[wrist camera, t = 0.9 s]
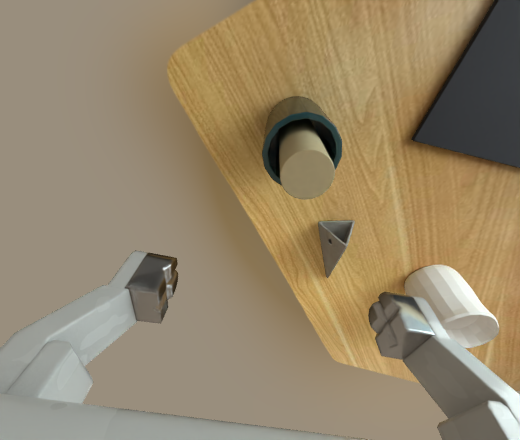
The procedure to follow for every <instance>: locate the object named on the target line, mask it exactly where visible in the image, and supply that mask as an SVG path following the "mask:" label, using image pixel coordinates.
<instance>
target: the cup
mask: <svg viewBox="0 0 520 440" xmlns="http://www.w3.org/2000/svg"><path fill="white" fill-rule="evenodd" d="M404 288H405V292H406V295H409V296H416V297H422V298H424V299H425V300H426V301H427V302H428V304H429V305H430V307H431V309H432V310H433V312H434V313H435V315H436V317H437V318H438V320H439V321H440V323H441V325H442V326H443V328H444V329H445V331H446V333H447V334H448V336H449V338H450V339H454V340H456V341H457V342H458V343H459V344H460V345H461V346H463V347H464V348H472V347H475V346H479V345H482V344H485V343H487V342H489V341H491V340H493V339H494V338H495V337H496V336H497V335H498V332H499V324H498V322H497V320H496V318H495V316H494V315H492V314H491V313H490V312H489V311H488V310H487V309H486V308H485V307H484V306H483V305H482V303H481V302H480V301H479V299H478V298H477V296H476V294H475V293H474V292H473V290H472V289H471V287H470V286H469V285H468V284H467V283H466V281H465V280H464V279H463V278H462V277H461V275H460V274H459V273H458V272H457V271H455V270H454V269H452V268H450V267H448V266H445V265H430V266H427V267H423V268H421V269H419V270H417V271H415V272H414V273H412V274H411V275H409V276H408V278H407V279H406V280H405V285H404Z"/></svg>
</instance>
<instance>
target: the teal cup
mask: <svg viewBox="0 0 520 440" xmlns="http://www.w3.org/2000/svg"><path fill="white" fill-rule="evenodd" d="M305 118H307V119H310V121H311V122H312V124H313V126H314V128H315V130H316V132H317V134H318V136H319V137H320V139H321V141H322V143H323V145H324V147H325V149H326V151H327V153H328V154H329V156H330V158H331V160H332V162H333V164H334V168H335V170H336V168H337V165H338V163H339V161H340V159H341V156H342V139H341V137H340V135H339V132H338V130H337V128H336V126H335V125H334V124H333V122H332V121H331V120H330V119H329V118H328V117H327V115H326V114H325V113H324V112H323V111H322V109H321V108H320V107H319V106H318V105H317V104H316V103H314V102H313V101H312V100H310V99H308V98H305V97H300V96H295V97H290V98H287V99H284V100H282V101H281V102H279V103H278V104H277V105H276V106H275V107H274V108H273V109H272V111H271V112H270V114H269V116H268V119H267V123H266V128H265V135H264V142H263V150H262V156H263V162H264V167H265V169H266V171H267V172H268V174H269V175H270V177H271V178H272V179H273V180H274V181H276V182H277V183H279V184H280V185H282V184H281V180H280V161H279V135H278V130H279V129H280V128H281V127H283V126H284V125H286V124H288V123H289V122H291V121H294V120H299V119H305Z"/></svg>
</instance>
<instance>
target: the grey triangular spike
mask: <svg viewBox="0 0 520 440" xmlns="http://www.w3.org/2000/svg"><path fill="white" fill-rule="evenodd" d="M353 226H354V221H352V220H349V221H320V222H318V227H319V234H320V241H321V247H322V254H323V260H324V266H325V272H326V277H327V278H328V277H329V276H330V274H331V272H332V271H333V269H334V268H335V266H336V264H337V263H338V261H339V259H340V258H341V256H342V254H343V253H344V251H345V249H346V247H347V245H348V242H349V239H350V236H351V233H352V229H353Z"/></svg>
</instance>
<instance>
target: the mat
mask: <svg viewBox="0 0 520 440" xmlns="http://www.w3.org/2000/svg"><path fill="white" fill-rule="evenodd" d="M411 140H413V141H416V142H420V143H424V144H428V145H432V146H436V147H440V148H444V149H448V150H451V151H455V152H459V153H463V154H467V155H471V156H475V157H479V158H483V159H487V160H491V161H495V162H499V163H503V164H507V165H511V166H515V167H519V168H520V0H494V2H493V4H492V5H491V7H490V9H489V10H488V12H487V14H486V15H485V17H484V19H483V20H482V22H481V24H480V25H479V27H478V29H477V30H476V32H475V34H474V35H473V37H472V39H471V40H470V42H469V44H468V45H467V47H466V49H465V50H464V52H463V54H462V55H461V57H460V59H459V60H458V62H457V64H456V65H455V67H454V69H453V70H452V72H451V74H450V75H449V77H448V79H447V80H446V82H445V84H444V85H443V87H442V89H441V90H440V92H439V94H438V95H437V97H436V99H435V100H434V102H433V104H432V105H431V107H430V109H429V110H428V112H427V114H426V115H425V117H424V119H423V120H422V122H421V124H420V125H419V127H418V129H417V130H416V132H415V134H414V135H413V137H412V139H411Z"/></svg>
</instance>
